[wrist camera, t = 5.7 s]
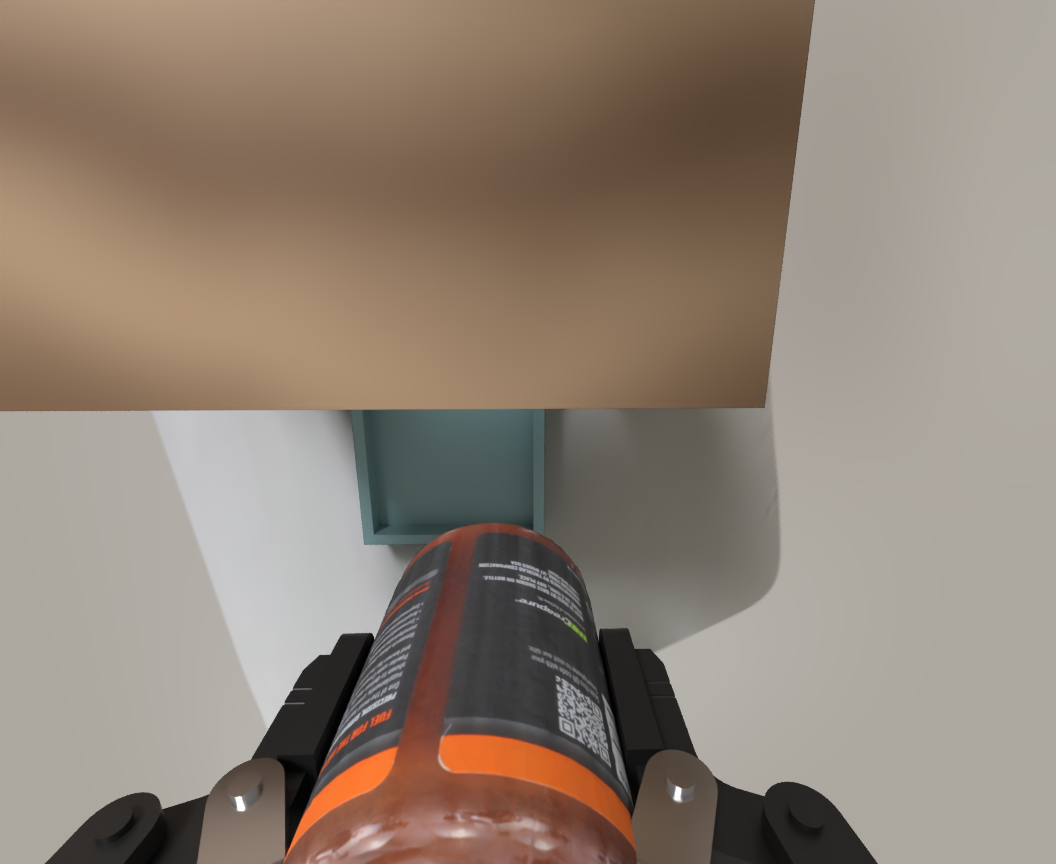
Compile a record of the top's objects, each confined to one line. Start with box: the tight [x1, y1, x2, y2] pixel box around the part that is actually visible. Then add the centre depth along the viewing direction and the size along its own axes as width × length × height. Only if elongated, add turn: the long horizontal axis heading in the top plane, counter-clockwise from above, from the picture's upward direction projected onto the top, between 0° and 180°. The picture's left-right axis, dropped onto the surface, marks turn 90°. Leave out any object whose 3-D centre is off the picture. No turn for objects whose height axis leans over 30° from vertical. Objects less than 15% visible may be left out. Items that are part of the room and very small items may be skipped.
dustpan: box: [351, 409, 545, 545], centre depth 28 cm, size 19×10×5 cm, turn 0°
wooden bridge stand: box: [0, 0, 815, 411], centre depth 18 cm, size 11×19×17 cm, turn 90°
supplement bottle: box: [283, 523, 637, 864], centre depth 10 cm, size 6×6×11 cm
